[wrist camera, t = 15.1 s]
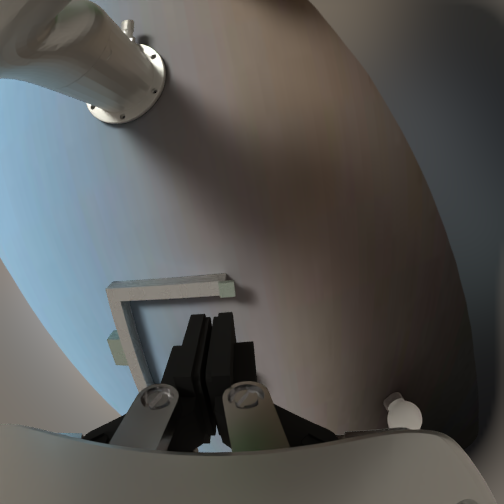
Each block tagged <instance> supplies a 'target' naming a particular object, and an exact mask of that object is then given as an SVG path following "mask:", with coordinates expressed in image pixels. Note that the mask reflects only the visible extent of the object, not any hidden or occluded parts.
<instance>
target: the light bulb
mask: <svg viewBox="0 0 504 504" xmlns="http://www.w3.org/2000/svg"><path fill="white" fill-rule="evenodd" d="M383 404H384V406H385V408H386V410H387V411H388V412H389V413H388V419H387V420H388V426H389V428H398V427H406V428H409V429H412V430H415V429H420V428H421V425H422V415H421V412H420V410H419V408H418V407H417V406H416V405H415V404H413V403H411V402H408V401H405V400H404V399H403V397H402V395H401V394H400V393H399V392H396V393H393V394H391V395H389V396H388V397H387V398H386V399H385V400H384V403H383Z"/></svg>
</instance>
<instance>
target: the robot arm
mask: <svg viewBox="0 0 504 504" xmlns="http://www.w3.org/2000/svg"><path fill="white" fill-rule="evenodd" d="M133 31H134V21H133V20H125V21H123V22H122V23H121V29H120V28H119V26H118V25H117V24H116V23H115V22H114V21H113V20H112V19H111V18H110V17H109V16H108V15H107V13H106V12H105V11H104V10H103V9H102V8H101V7H100V6H98V5H97V4H95V3H93V2H91V1H89V0H0V79H1V78H2V79H15V80H20V81H25V82H28V83H32V84H35V85H38V86H41V87H44V88H47V89H50V90H53V91H56V92H59V93H61V94H64V95H67V96H69V97H72V98H75V99H77V100H80V101H83V102H85V103H86V104H87V107H88V109H89V111H90V112H91V113H92V115H93V116H94V117H96V118H97V119H99V120H100V121H103V122H106V123H110V124H122V123H127V122H130V121H132V120H135V119H137V118H138V117H140V116H142V115H143V114H144V113H146V112H147V111H148V110H149V109H150V108H151V107H152V106H153V105H154V104H155V103H156V101H157V100H158V98H159V97H160V95H161V93H162V90H163V88H164V84H165V80H166V69H165V65H164V62H163V60H162V58H161V57H160V55H159V54H158V53H157V52H156V51H155V50H154V49H152V48H151V47H149V46H146V45H143V44H136V42H135V37H133ZM154 58H155V59H154ZM155 91H157V92H156V93H155V94H154V92H155ZM124 116H125V118H124ZM216 425H217V429H218V432H219V435H221V438H222V442H223V443H224V444H226V445H227V446H228V447H230V448H231V449H232V452H217V453H203V452H198V448H197V447H199V446H200V445H202V444H203V443H210V437H211V435H215V434H216ZM0 504H497V502H496V500H495V498H494V496H493V494H492V493H491V491H490V489H489V487H488V485H487V483H486V482H485V480H484V479H483V477H482V476H481V474H480V472H479V471H478V469H477V468H476V467H475V465H474V463H473V462H472V461H471V459H470V458H469V457H468V455H467V454H466V453H465V452H464V450H463V449H462V448H461V447H460V446H459V445H458V444H457V443H456V442H455V441H454V440H453V439H451V438H450V437H449V436H447V435H445V434H443V433H440V432H437V431H432V430H422V429H415V430H412V429H409V428H406V427H398V428H389V429H378V430H366V431H347V432H345V433H344V435H335V434H334V433H333V432H331V431H330V430H328V429H326V428H323V427H321V426H319V425H317V424H314V423H312V422H310V421H308V420H306V419H304V418H301V417H299V416H297V415H295V414H293V413H291V412H289V411H287V410H285V409H283V408H281V407H279V406H277V405H275V404H273V401H272V399H271V396H270V393H269V391H268V389H267V388H266V387H265V386H263V385H262V384H260V383H257V376H256V365H255V354H254V344H253V342H240V343H236V336H235V328H234V320H233V313H232V312H227V313H219V314H218V317H214V319H213V325H212V324H211V318H210V317H206V316H205V314H196V315H191V317H190V320H189V323H188V327H187V330H186V333H185V337H184V340H183V344H182V346H173V348H172V351H171V354H170V357H169V360H168V363H167V366H166V369H165V372H164V375H163V378H162V381H161V384H154V385H150V386H148V387H146V388H144V389H143V390H141V391H140V393H139V394H138V395H137V397H136V398H135V400H134V402H133V403H132V405H131V407H130V408H129V410H128V412H127V414H125V415H123V416H121V417H119V418H117V419H115V420H113V421H111V422H109V423H107V424H105V425H103V426H101V427H99V428H97V429H95V430H92V431H91V432H89V433H88V434H86V435H85V436H83V435H82V434H81V433H78V434H77V433H54V432H50V431H46V430H42V429H38V428H34V427H29V426H23V425H15V424H0Z"/></svg>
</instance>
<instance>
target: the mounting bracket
mask: <svg viewBox="0 0 504 504" xmlns="http://www.w3.org/2000/svg"><path fill="white" fill-rule="evenodd" d="M106 293H107V297H108V301H109V304H110V308H111V312H112V315H113V319H114V322H115V325H116V329H117V330H114V331H113V332H112V333H111V335H110V336H109V337H108V339H107V341H108V344H109V347H110V350H111V352H112V355H113V358H114V361H115V363H116V365H128V366H129V368H130V370H131V373H132V376H133V378H134V381H135V384H136V386H137V389H138V391H139V393H140V391H141V390H143V389H144V388H146V387H148V386H150V385H154V382H153V379H152V376H151V373H150V370H149V367H148V364H147V361H146V358H145V355H144V352H143V349H142V345H141V342H140V338H139V335H138V332H137V328H136V324H135V321H134V317H133V313H132V309H131V305H130V301H136V300H157V299H174V298H190V297H205V296H219V295H220V298H224V297H235V295H236V294H235V285H234V280H229V281H227V277H226V273H223V274H211V275H198V276H185V277H172V278H159V279H145V280H130V281H115V282H112V283H111V284H110V285H109V286H108V287H107V288H106Z"/></svg>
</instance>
